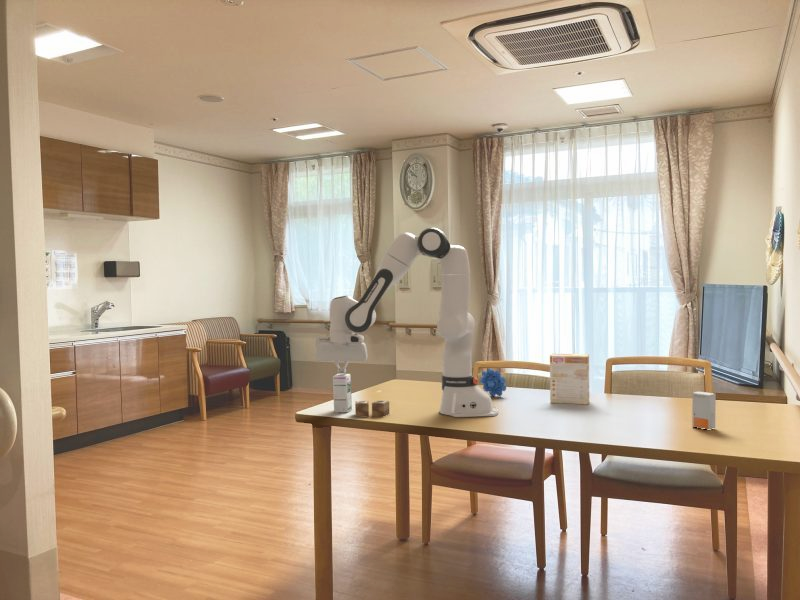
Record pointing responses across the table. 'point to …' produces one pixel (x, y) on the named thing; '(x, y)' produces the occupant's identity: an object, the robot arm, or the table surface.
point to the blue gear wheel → (493, 382)
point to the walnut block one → (362, 408)
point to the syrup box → (342, 392)
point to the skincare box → (703, 410)
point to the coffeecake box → (569, 378)
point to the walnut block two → (380, 408)
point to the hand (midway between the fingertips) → (341, 372)
